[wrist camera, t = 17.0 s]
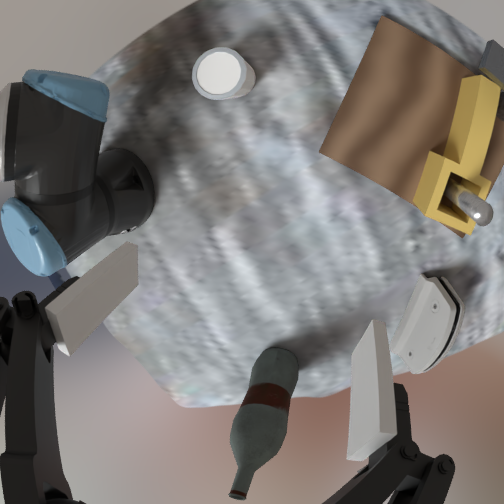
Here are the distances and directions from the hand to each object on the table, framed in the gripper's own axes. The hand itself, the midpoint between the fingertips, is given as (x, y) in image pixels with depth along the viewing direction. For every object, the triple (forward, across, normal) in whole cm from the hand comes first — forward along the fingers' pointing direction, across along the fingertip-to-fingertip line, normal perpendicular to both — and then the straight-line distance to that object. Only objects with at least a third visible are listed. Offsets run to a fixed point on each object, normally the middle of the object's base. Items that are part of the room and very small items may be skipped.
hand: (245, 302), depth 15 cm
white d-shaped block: (+29, +27, -16) cm, 43 cm away
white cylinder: (+29, -12, +12) cm, 34 cm away
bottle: (+29, +6, -36) cm, 46 cm away
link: (+27, +19, +12) cm, 36 cm away
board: (+29, +16, +13) cm, 35 cm away
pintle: (+28, +20, +6) cm, 35 cm away
